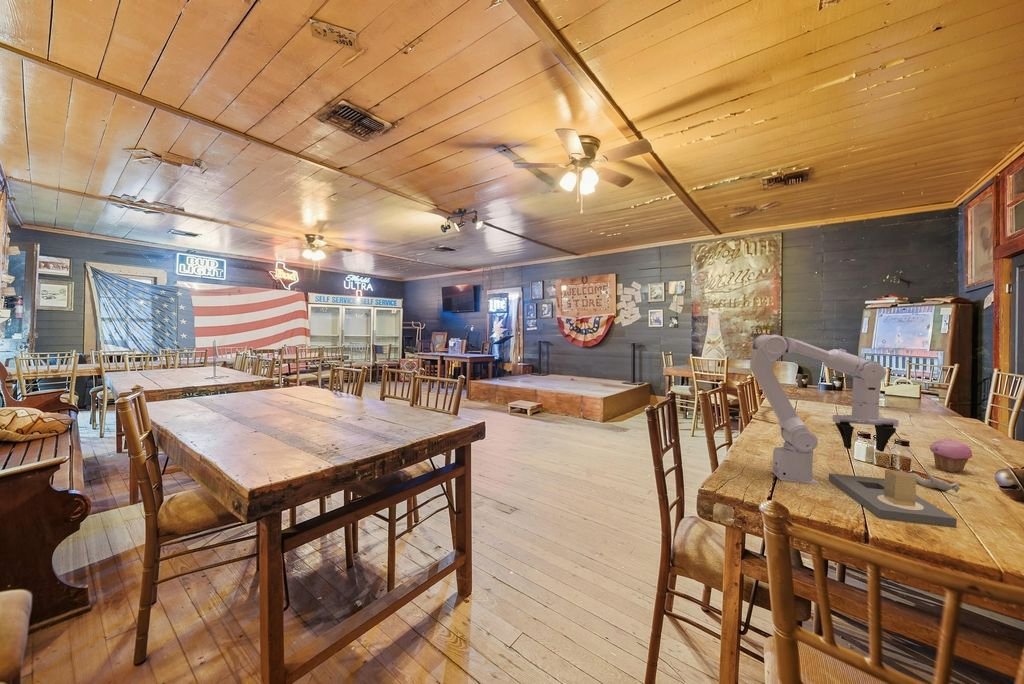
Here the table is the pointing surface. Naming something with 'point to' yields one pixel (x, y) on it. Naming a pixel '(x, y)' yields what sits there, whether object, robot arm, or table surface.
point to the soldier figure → (935, 482)
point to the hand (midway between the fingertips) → (863, 449)
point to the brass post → (900, 487)
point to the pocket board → (873, 499)
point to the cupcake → (950, 455)
